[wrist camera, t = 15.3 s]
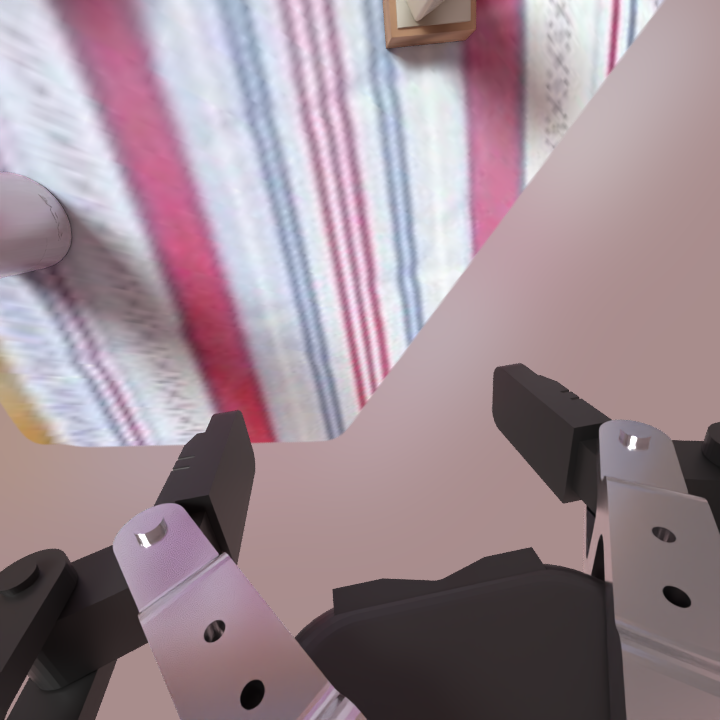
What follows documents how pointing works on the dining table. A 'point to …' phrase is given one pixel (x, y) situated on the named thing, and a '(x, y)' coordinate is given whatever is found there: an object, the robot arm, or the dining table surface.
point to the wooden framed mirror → (428, 23)
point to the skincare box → (422, 7)
